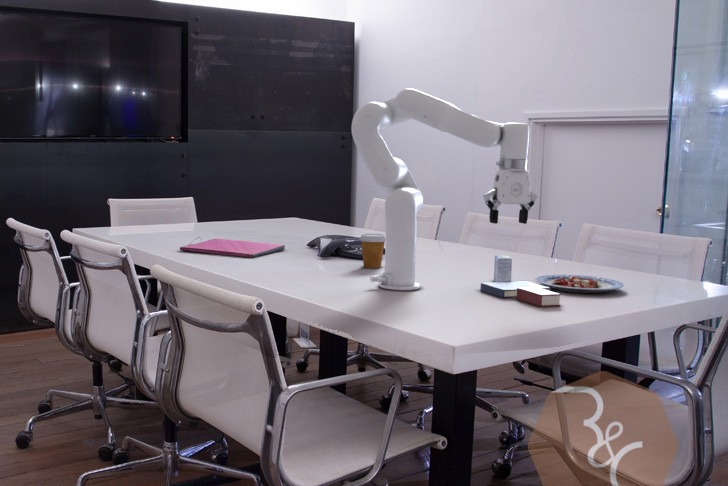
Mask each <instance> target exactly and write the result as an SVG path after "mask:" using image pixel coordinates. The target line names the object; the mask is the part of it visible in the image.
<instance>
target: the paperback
mask: <svg viewBox="0 0 728 486" xmlns="http://www.w3.org/2000/svg"><path fill="white" fill-rule="evenodd" d="M560 299H561V293H559V292H555V291H552V290H549V291H548V290H545V289H541V288H538V287H525V288H517V298H516V301H519V302H523V303H527V304H529V305H533V306H535V307H539V308H550V307H551V308H552V307H561V304H560Z"/></svg>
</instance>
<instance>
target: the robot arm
mask: <svg viewBox="0 0 728 486" xmlns="http://www.w3.org/2000/svg"><path fill="white" fill-rule="evenodd" d="M410 120H415V121H416V122H419V123H422V124H424V125H427V126H429V127H431V128H433V129H436V130H438V131H440V132H442V133H443V132H444V133H447V134H450V135H452V136H454V137H456V138H459V139H461V140H463V141H466V142H469V143H471V144H473V145H475V146H479V147H481V148H494V147H500V151H499V153H500V154H499V160H496V162H495V165H496V166H498V169H496V173H495V176H494V180H493V185H492V189H491V190H489V191H487V192H486V193H484V194H483V195H482V197H483V200H484V201H485V202H484V203H485V205H486V206H487V208H488V210H489V223H491V224H498V222H499V212H500V211H499V207H500V206H501V205H502V204H503V205H518V206H519V207H520V209H519V213H518V223H519V224H524V225H526V224H528V217H529V211H530V210H531V208H532V207H533V206H535V202H536V201H537V199H538V195H537V194H536V193H534V192H533V191H531V176H530V171H529V170H527V165H528V153H529V144H530V143H529V142H530V131H531V130H530V125H529V124H528V123H525V122H506V123H500V122H494V121H491V120H490V121H489V120H486V119H485V118H481V117H479V116H477V115H474V114H471V113H469V112H467V111H464V110H462V109H461V108H458V107H457V106H456V105H455V104H453V103H450V102H449V101H446V100H443V99H441V98H438V97H436V96H433V95H430V94H428V93H425V92H423V91H421V90H418V89H415V88H411V87H406V88H403V89H402V90H400V91H399V92H398V93H397V94H396V96H395V97H393V98H389V99H387V100H385V101H382V102H378V101H368V102H366V103H364V104H362V105H361V106H359V107H358V109H357V110H356V111H355V113H354V115H353V118H352V121H351V135H352V139H353V142H354V144H355V146H356V148H357V150H358V152H359V154H360V156H361V158H362V160H363V163H364V164H365V166H366V168H367V169H368V170H367V171H368V172H369V174H370V176H371V178H372V179H373V181H374V183H375V184H376V186H378V187H382V188H385V190H386V192H387V196H386V199H385V201H384V218H385V219H384V220H385V238H386V240H385V243H384V248H385V249H384V271H381V274H379V275H370V276H369V281H370V282H371V283H376V282H377V283H379V284H378V286H379V287H380V288H381V289H386V290H390V291H415V290H416V291H417V290H420V288H421V284H420V283H419V282H417V281H416V268H417V267H416V264H417V259H416V258H417V231H418V230H417V229H418V228H417V214H418V213H419V212H420V211H421V210H422V207H423V205H424V197H423V193H422V191H421V190H420V188H419V186H418V184H417V182H416V181H415V179H414V177H413V175H412V173H411V171H410V169H409V167H408V166H407V165H406V164H405V162H404V161H403V160H401V159H400V158H398V157H394V156H393V154H392V152H391V150H390V149H389V147H388V145H387V143H386V141H385V139H384V138H383V137H382V135H381V132H380V130H385V129H388V128H391V127H394V126H397V125H399V124H402V123H405V122H407V121H410ZM491 198H492V200H491Z"/></svg>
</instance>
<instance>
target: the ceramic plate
mask: <svg viewBox="0 0 728 486" xmlns="http://www.w3.org/2000/svg"><path fill="white" fill-rule="evenodd" d="M534 281H535V282H536V283H538V284H540V285H544V286H547V287H549V288H552V289H555V290H558V291H563V292H568V293H569V292H570V293H571V292H572V293H579V294H598V293H606V292H608V291H611V290H618V289H622V288H623V287H624V286H625V284H624V283H623V282H621V281H618V280H615V279H611V278H606V277H601V276H592V275H581V274H544V275H539V276H536V277H534Z"/></svg>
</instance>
